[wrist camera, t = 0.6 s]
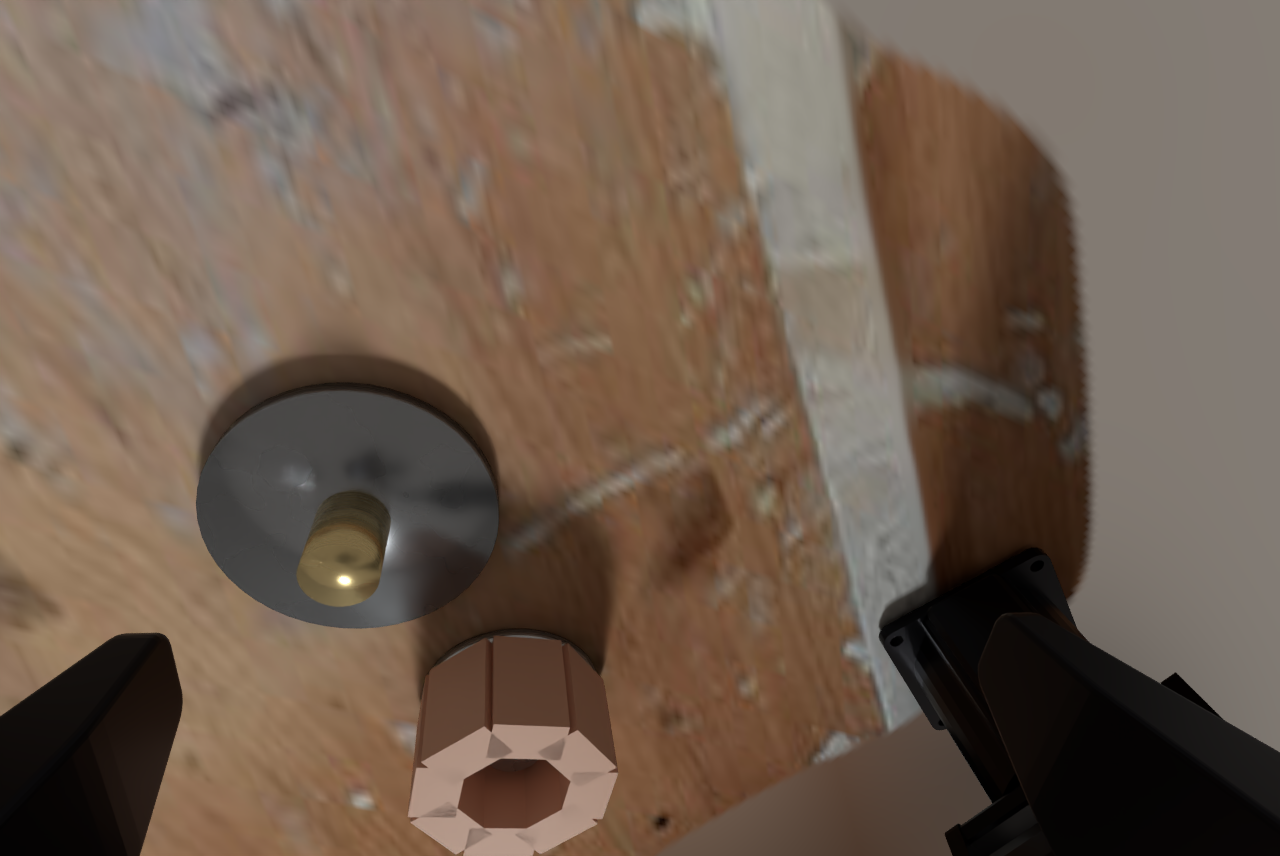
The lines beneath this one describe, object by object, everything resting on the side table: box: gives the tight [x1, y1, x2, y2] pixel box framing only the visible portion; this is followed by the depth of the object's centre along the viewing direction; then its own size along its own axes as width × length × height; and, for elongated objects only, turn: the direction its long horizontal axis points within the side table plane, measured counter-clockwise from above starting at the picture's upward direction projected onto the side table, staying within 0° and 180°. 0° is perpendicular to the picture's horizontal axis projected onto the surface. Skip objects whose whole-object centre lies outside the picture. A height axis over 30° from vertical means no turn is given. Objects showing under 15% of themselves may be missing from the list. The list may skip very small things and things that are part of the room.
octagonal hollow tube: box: [408, 636, 618, 856], centre depth 25 cm, size 6×6×4 cm
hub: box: [196, 383, 499, 628], centre depth 21 cm, size 8×8×3 cm
